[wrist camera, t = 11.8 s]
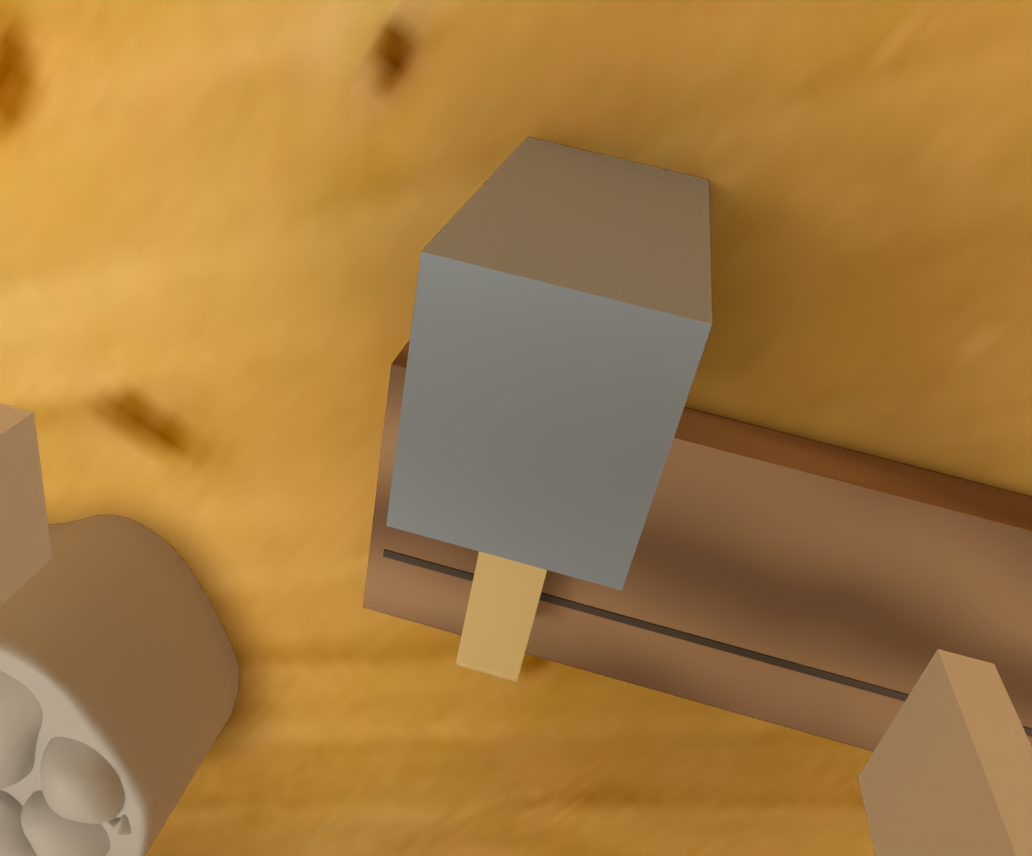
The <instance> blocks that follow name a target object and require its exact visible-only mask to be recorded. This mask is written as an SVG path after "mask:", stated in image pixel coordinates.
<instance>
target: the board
mask: <svg viewBox="0 0 1032 856" xmlns="http://www.w3.org/2000/svg"><path fill="white" fill-rule="evenodd" d="M409 343H410V340H409V341H408V343H407V344H406V345H405V347H404V348H403V349H402V351H401V352H400V353H399V355H398V356H397V357H396V359H395V360H394V361H393V363H392V364H391V372H390V380H389V389H388V398H387V406H386V415H385V423H384V432H383V440H382V449H381V457H380V466H379V474H378V483H377V492H376V500H375V509H374V517H373V526H372V534H371V543H370V551H369V560H368V568H367V577H366V586H365V594H364V603H363V608H367V609H370V610H374V611H377V612H381V613H384V614H388V615H391V616H395V617H399V618H402V619H406V620H409V621H413V622H416V623H420V624H423V625H427V626H430V627H434V628H437V629H441V630H445V631H448V632H452V633H455V634H459V635H462V631H463V626H464V621H465V616H466V611H467V607H468V602H469V597H470V592H471V587H472V583H473V578H474V573H475V568H476V564H477V559H478V554H479V551H476V550H472V549H469V548H465V547H462V546H458V545H454V544H451V543H447V542H443V541H440V540H436V539H433V538H429V537H425V536H422V535H418V534H414V533H411V532H407V531H403V530H400V529H396V528H393V527H389V526H386V524H387V516H388V508H389V500H390V492H391V484H392V477H393V469H394V461H395V453H396V445H397V437H398V430H399V422H400V414H401V406H402V398H403V390H404V383H405V375H406V367H407V359H408V351H409ZM937 649H940V650H943V651H947V652H951V653H955V654H959V655H963V656H966V657H970V658H974V659H978V660H982V661H985V662H989V663H993V664H995V667H996V669H997V671H998V673H999V675H1000V678H1001V680H1002V682H1003V684H1004V687H1005V689H1006V691H1007V693H1008V695H1009V698H1010V700H1011V702H1012V704H1013V706H1014V709H1015V711H1016V713H1017V715H1018V717H1019V720H1020V722H1021V724H1022V726H1023V729H1024V731H1025V733H1026V735H1027V737H1028V740H1029V742H1030V744H1031V746H1032V497H1030V496H1026V495H1022V494H1018V493H1014V492H1010V491H1006V490H1003V489H999V488H995V487H991V486H987V485H983V484H979V483H975V482H972V481H968V480H964V479H960V478H956V477H952V476H948V475H944V474H940V473H937V472H933V471H929V470H925V469H921V468H917V467H913V466H909V465H906V464H902V463H898V462H894V461H890V460H886V459H882V458H878V457H875V456H871V455H867V454H863V453H859V452H855V451H851V450H847V449H843V448H840V447H836V446H832V445H828V444H824V443H820V442H816V441H812V440H809V439H805V438H801V437H797V436H793V435H789V434H785V433H781V432H778V431H774V430H770V429H766V428H762V427H758V426H754V425H750V424H746V423H743V422H739V421H735V420H731V419H727V418H723V417H719V416H715V415H712V414H708V413H704V412H700V411H696V410H692V409H688V408H684V409H683V412H682V415H681V418H680V421H679V424H678V427H677V430H676V433H675V436H674V439H673V442H672V445H671V447H670V450H669V453H668V456H667V459H666V462H665V465H664V468H663V471H662V474H661V477H660V480H659V483H658V486H657V489H656V492H655V495H654V497H653V500H652V503H651V506H650V509H649V512H648V515H647V518H646V521H645V524H644V527H643V530H642V533H641V536H640V539H639V542H638V545H637V548H636V550H635V553H634V556H633V559H632V562H631V565H630V568H629V571H628V574H627V577H626V580H625V583H624V586H623V589H622V590H618V589H614V588H611V587H607V586H603V585H600V584H596V583H592V582H589V581H585V580H582V579H578V578H574V577H571V576H567V575H563V574H560V573H556V572H552V571H549V570H547V573H546V576H545V580H544V584H543V587H542V591H541V595H540V599H539V602H538V606H537V610H536V613H535V617H534V621H533V624H532V628H531V632H530V636H529V639H528V643H527V647H526V650H525V653H526V654H529V655H533V656H536V657H540V658H544V659H547V660H551V661H554V662H558V663H561V664H565V665H568V666H572V667H575V668H579V669H582V670H586V671H590V672H593V673H597V674H600V675H604V676H607V677H611V678H614V679H618V680H621V681H625V682H628V683H632V684H635V685H639V686H643V687H646V688H650V689H653V690H657V691H660V692H664V693H667V694H671V695H674V696H678V697H681V698H685V699H689V700H692V701H696V702H699V703H703V704H706V705H710V706H713V707H717V708H720V709H724V710H727V711H731V712H735V713H738V714H742V715H745V716H749V717H752V718H756V719H759V720H763V721H766V722H770V723H773V724H777V725H780V726H784V727H788V728H791V729H795V730H798V731H802V732H805V733H809V734H812V735H816V736H819V737H823V738H826V739H830V740H834V741H837V742H841V743H844V744H848V745H851V746H855V747H858V748H862V749H865V750H869V751H872V752H874V750H875V749H876V747H877V745H878V744H879V742H880V741H881V739H882V737H883V736H884V734H885V733H886V731H887V729H888V728H889V726H890V725H891V723H892V721H893V720H894V718H895V717H896V715H897V713H898V712H899V710H900V709H901V707H902V705H903V704H904V702H905V701H906V699H907V697H908V696H909V694H910V693H911V691H912V689H913V688H914V686H915V685H916V683H917V681H918V680H919V678H920V677H921V675H922V673H923V672H924V670H925V669H926V667H927V665H928V664H929V662H930V661H931V659H932V657H933V656H934V654H935V653H936V651H937Z"/></svg>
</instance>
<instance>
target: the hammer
mask: <svg viewBox="0 0 1032 856" xmlns="http://www.w3.org/2000/svg"><path fill="white" fill-rule="evenodd" d="M711 327H712V290H711V251H710V212H709V180H708V179H704V178H700V177H695V176H691V175H687V174H683V173H679V172H674V171H670V170H666V169H662V168H657V167H653V166H649V165H645V164H641V163H636V162H632V161H628V160H624V159H620V158H615V157H611V156H607V155H603V154H598V153H594V152H590V151H586V150H582V149H577V148H573V147H569V146H565V145H560V144H556V143H552V142H548V141H544V140H539V139H535V138H531V137H527V138H526V139H525V140H524V141H523V143H522V144H521V145H520V146H519V147H518V148H517V149H516V150H515V151H514V152H513V153H512V154H511V155H510V157H509V158H508V159H507V160H506V161H505V162H504V163H503V164H502V165H501V166H500V167H499V168H498V169H497V171H496V172H495V173H494V174H493V175H492V176H491V177H490V178H489V179H488V180H487V181H486V182H485V183H484V185H483V186H482V187H481V188H480V189H479V190H478V191H477V192H476V193H475V194H474V195H473V196H472V197H471V199H470V200H469V201H468V202H467V203H466V204H465V205H464V206H463V207H462V208H461V209H460V210H459V211H458V213H457V214H456V215H455V216H454V217H453V218H452V219H451V220H450V221H449V222H448V223H447V224H446V225H445V227H444V228H443V229H442V230H441V231H440V232H439V233H438V234H437V235H436V236H435V237H434V238H433V239H432V241H431V242H430V243H429V244H428V245H427V246H426V247H425V248H424V249H423V250H422V251H421V257H420V265H419V273H418V281H417V289H416V297H415V304H414V312H413V320H412V328H411V336H410V343H409V351H408V359H407V367H406V375H405V383H404V390H403V398H402V406H401V414H400V422H399V430H398V437H397V445H396V453H395V461H394V469H393V477H392V484H391V492H390V500H389V508H388V516H387V524H386V526H389V527H393V528H396V529H400V530H403V531H407V532H411V533H414V534H418V535H422V536H425V537H429V538H433V539H436V540H440V541H443V542H447V543H451V544H454V545H458V546H462V547H465V548H469V549H472V550H476V551H479V554H478V559H477V564H476V568H475V573H474V578H473V583H472V587H471V592H470V597H469V602H468V607H467V611H466V616H465V621H464V626H463V631H462V635H461V640H460V645H459V650H458V655H457V659H456V664H455V665H458V666H462V667H465V668H469V669H472V670H476V671H479V672H483V673H486V674H490V675H493V676H497V677H500V678H504V679H507V680H511V681H514V682H517V680H518V676H519V673H520V669H521V665H522V661H523V658H524V654H525V650H526V647H527V643H528V639H529V636H530V632H531V628H532V624H533V621H534V617H535V613H536V610H537V606H538V602H539V599H540V595H541V591H542V587H543V584H544V580H545V576H546V573H547V570H549V571H552V572H556V573H560V574H563V575H567V576H571V577H574V578H578V579H582V580H585V581H589V582H592V583H596V584H600V585H603V586H607V587H611V588H614V589H618V590H622V589H623V586H624V583H625V580H626V577H627V574H628V571H629V568H630V565H631V562H632V559H633V556H634V553H635V550H636V548H637V545H638V542H639V539H640V536H641V533H642V530H643V527H644V524H645V521H646V518H647V515H648V512H649V509H650V506H651V503H652V500H653V497H654V495H655V492H656V489H657V486H658V483H659V480H660V477H661V474H662V471H663V468H664V465H665V462H666V459H667V456H668V453H669V450H670V447H671V445H672V442H673V439H674V436H675V433H676V430H677V427H678V424H679V421H680V418H681V415H682V412H683V409H684V406H685V403H686V400H687V397H688V395H689V392H690V389H691V386H692V383H693V380H694V377H695V374H696V371H697V368H698V365H699V362H700V359H701V356H702V353H703V350H704V347H705V345H706V342H707V339H708V336H709V333H710V330H711Z"/></svg>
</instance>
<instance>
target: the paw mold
mask: <svg viewBox="0 0 1032 856" xmlns="http://www.w3.org/2000/svg"><path fill="white" fill-rule="evenodd" d="M48 528H49V536H50V544H51V551H52V559H50V560H49V561H48V562H47V563H46V564H45V565H44V566H43V567H42V568H41V569H40V570H39V571H38V572H37V573H36V574H34V575H33V576H32V577H31V578H30V579H29V580H28V581H27V582H26V583H25V584H24V585H23V586H22V587H21V588H19V589H18V590H17V591H16V592H15V593H14V594H13V595H12V596H11V597H10V598H9V599H8V600H7V601H6V602H5V603H3V604H2V605H1V606H0V856H144V855H145V854H146V852H147V851H148V849H149V847H150V846H151V844H152V842H153V841H154V839H155V838H156V836H157V834H158V833H159V831H160V830H161V828H162V827H163V825H164V823H165V822H166V820H167V818H168V817H169V815H170V814H171V812H172V810H173V809H174V807H175V805H176V804H177V802H178V801H179V799H180V797H181V796H182V794H183V792H184V791H185V789H186V787H187V786H188V784H189V783H190V781H191V779H192V778H193V776H194V774H195V773H196V771H197V770H198V768H199V766H200V765H201V763H202V761H203V760H204V758H205V756H206V755H207V753H208V752H209V750H210V748H211V747H212V745H213V743H214V742H215V740H216V739H217V737H218V735H219V734H220V732H221V730H222V729H223V727H224V726H225V724H226V722H227V721H228V719H229V717H230V716H231V714H232V711H233V709H234V705H235V702H236V698H237V693H238V686H239V678H240V669H239V664H238V661H237V658H236V655H235V653H234V650H233V648H232V645H231V643H230V640H229V638H228V636H227V634H226V632H225V629H224V627H223V625H222V623H221V621H220V619H219V617H218V615H217V613H216V611H215V609H214V608H213V606H212V604H211V602H210V600H209V599H208V597H207V596H206V594H205V593H204V591H203V589H202V588H201V586H200V584H199V583H198V581H197V579H196V578H195V576H194V574H193V573H192V571H191V570H190V568H189V567H188V565H187V564H186V563H185V561H184V560H183V559H182V558H181V556H180V555H179V554H178V553H177V552H176V551H175V550H174V549H173V548H172V547H171V546H170V545H169V544H168V543H167V542H166V541H165V540H164V539H162V538H161V537H160V536H159V535H157V534H156V533H154V532H153V531H151V530H150V529H148V528H147V527H145V526H143V525H141V524H139V523H137V522H135V521H133V520H131V519H128V518H125V517H121V516H116V515H98V516H92V517H88V518H84V519H81V520H77V521H74V522H69V523H63V524H48Z"/></svg>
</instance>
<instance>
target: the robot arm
mask: <svg viewBox="0 0 1032 856" xmlns="http://www.w3.org/2000/svg"><path fill="white" fill-rule="evenodd" d="M50 559H52V551H51V544H50V536H49V528H48V520H47V512H46V505H45V497H44V489H43V481H42V473H41V466H40V458H39V450H38V442H37V434H36V426H35V419H34V412H31V411H28V410H24V409H20V408H16V407H12V406H8V405H5V404H1V403H0V606H1V605H2V604H3V603H5V602H6V601H7V600H8V599H9V598H10V597H11V596H12V595H13V594H14V593H15V592H16V591H17V590H18V589H19V588H21V587H22V586H23V585H24V584H25V583H26V582H27V581H28V580H29V579H30V578H31V577H32V576H33V575H34V574H36V573H37V572H38V571H39V570H40V569H41V568H42V567H43V566H44V565H45V564H46V563H47V562H48V561H49V560H50ZM858 780H859V785H860V790H861V794H862V799H863V803H864V808H865V812H866V817H867V821H868V826H869V830H870V835H871V840H872V844H873V849H874V853H875V856H1032V746H1031V744H1030V742H1029V740H1028V737H1027V735H1026V733H1025V731H1024V729H1023V726H1022V724H1021V722H1020V720H1019V717H1018V715H1017V713H1016V711H1015V709H1014V706H1013V704H1012V702H1011V700H1010V698H1009V695H1008V693H1007V691H1006V689H1005V687H1004V684H1003V682H1002V680H1001V678H1000V675H999V673H998V671H997V669H996V667H995V664H993V663H989V662H985V661H982V660H978V659H974V658H970V657H966V656H963V655H959V654H955V653H951V652H947V651H943V650H940V649H937V651H936V653H935V654H934V656H933V657H932V659H931V661H930V662H929V664H928V665H927V667H926V669H925V670H924V672H923V673H922V675H921V677H920V678H919V680H918V681H917V683H916V685H915V686H914V688H913V689H912V691H911V693H910V694H909V696H908V697H907V699H906V701H905V702H904V704H903V705H902V707H901V709H900V710H899V712H898V713H897V715H896V717H895V718H894V720H893V721H892V723H891V725H890V726H889V728H888V729H887V731H886V733H885V734H884V736H883V737H882V739H881V741H880V742H879V744H878V745H877V747H876V749H875V750H874V752H873V753H872V755H871V757H870V758H869V760H868V761H867V763H866V765H865V766H864V768H863V769H862V771H861V773H860V774H859V776H858Z"/></svg>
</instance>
